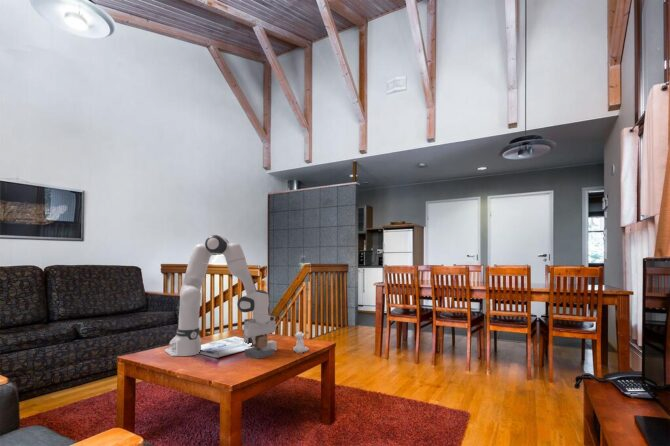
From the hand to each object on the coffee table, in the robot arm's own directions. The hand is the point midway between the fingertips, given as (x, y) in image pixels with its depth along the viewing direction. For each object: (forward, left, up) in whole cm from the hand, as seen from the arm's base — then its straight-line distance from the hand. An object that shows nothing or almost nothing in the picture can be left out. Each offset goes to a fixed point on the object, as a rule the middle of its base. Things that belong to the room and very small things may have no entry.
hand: (259, 342), depth 216 cm
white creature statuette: (+13, +20, -7) cm, 25 cm away
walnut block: (0, 0, -2) cm, 2 cm away
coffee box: (-21, +11, -7) cm, 25 cm away
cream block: (-3, +11, -7) cm, 13 cm away
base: (0, 0, -7) cm, 7 cm away
